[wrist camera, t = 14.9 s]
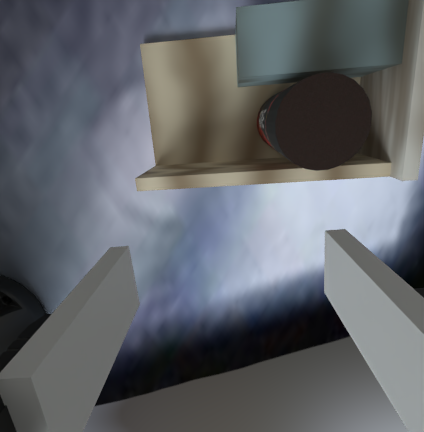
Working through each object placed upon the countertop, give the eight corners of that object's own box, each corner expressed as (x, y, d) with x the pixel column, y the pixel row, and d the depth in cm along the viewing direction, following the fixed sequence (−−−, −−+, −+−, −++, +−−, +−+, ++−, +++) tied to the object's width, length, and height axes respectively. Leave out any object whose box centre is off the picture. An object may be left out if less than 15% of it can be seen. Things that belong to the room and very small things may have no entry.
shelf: (159, 174, 37) (130, 196, 26) (142, 46, 33) (100, 12, 22) (361, 161, 35) (417, 179, 24) (372, 23, 31) (445, -26, 20)
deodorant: (251, 100, 33) (267, 86, 18) (307, 86, 32) (367, 60, 18) (261, 154, 34) (283, 179, 20) (314, 142, 34) (375, 159, 19)
